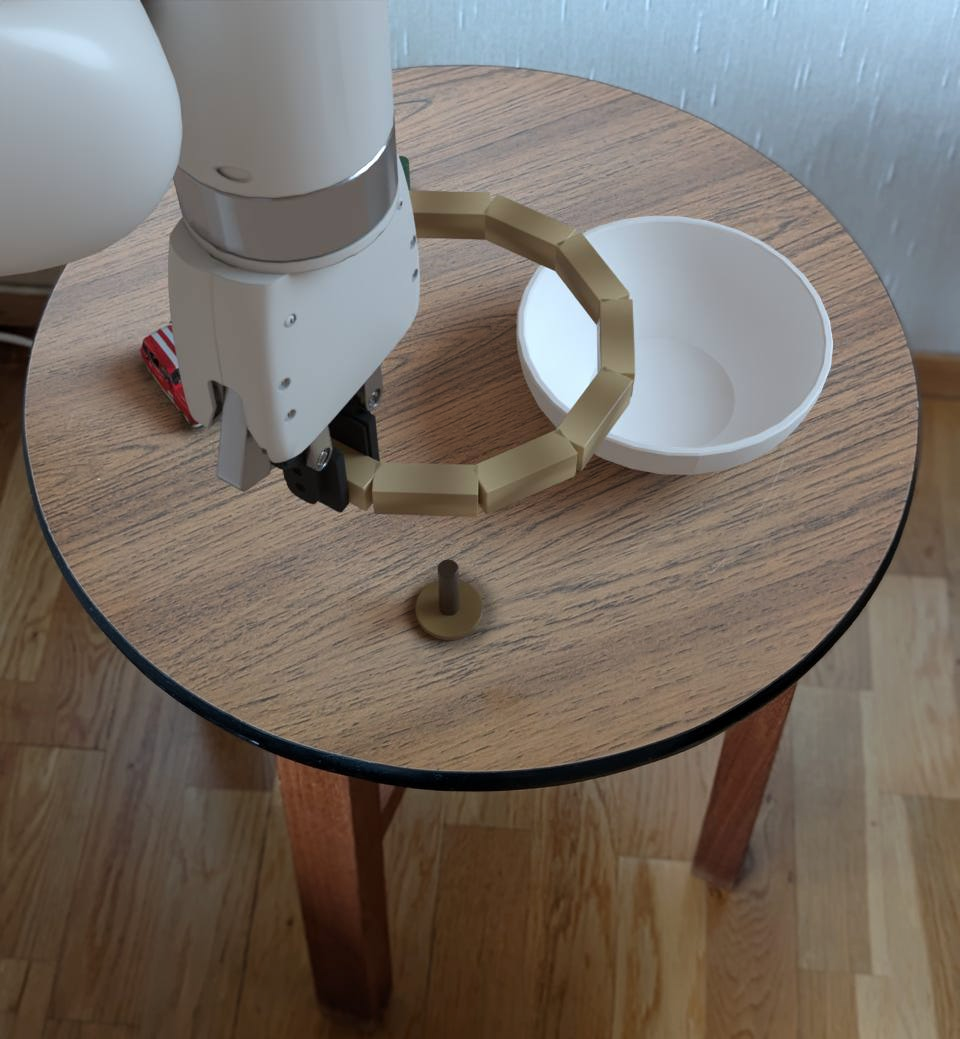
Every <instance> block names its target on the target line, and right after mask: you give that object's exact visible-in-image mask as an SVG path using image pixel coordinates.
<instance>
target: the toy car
mask: <svg viewBox="0 0 960 1039" xmlns="http://www.w3.org/2000/svg"><path fill="white" fill-rule="evenodd" d="M168 324H169V325H166V326H164V327H162V328H158V329H157V330H156V331H154V332H152V333H151V334H149V335H147V336H145V337H144V338H143V340H142V343H141V347H140V349H139V357H140V358H141V359H142V360H143V362H144V365H145V367H146V370H147V371H148V373H149V375H151V376H152V377H153V379H154V380H156V382H157V384H158V385H159V386H160V388H161V390H162V392H164V394H165V395H166V396H167V397H168V399H169V400H170V401H171V402H172V403H173V404H174V406H175V408H176V409H177V410H178V411H179V412H182V415H183V416H182V417H183V418H184V421H186V422H187V424H186V426H189V429H193V428H194V429H197V428H198V427H202V426H203V425H201V424H200V423H198V422H197V421H196V420H194V419H193V417H192V415H191V413H190V410H189V408H188V405H187V401H186V398H185V394H184V390H183V386H182V381H181V377H180V372H179V367H178V362H177V356H176V350H175V345H174V339H173V332H172V324H171V320H170V321H169V323H168Z"/></svg>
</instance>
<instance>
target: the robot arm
mask: <svg viewBox="0 0 960 1039" xmlns="http://www.w3.org/2000/svg"><path fill="white" fill-rule="evenodd" d="M388 1H389V0H0V277H6V276H15V275H21V274H29V273H30V274H31V273H34V272H38V271H43V270H47V269H52V268H55V267H60V266H65V265H68V264H72V263H74V262H78V261H80V260H82V259H85V258H88V257H90V256H93V255H95V254H98V253H100V252H102V251H104V250H106V249H107V248H109V247H111V246H112V245H114V244H116V243H118V242H119V241H121V240H122V239H124V238H126V237H127V236H129V235H131V234H132V233H133V232H134V231H135V230H136V229H137V228H138V227H139V226H140V225H142V224H143V222H145V221H146V220H147V219H148V218H149V217H150V215H152V214H153V212H154V211H155V210H156V208H157V207H158V205H159V204H160V203H161V201H162V200H163V198H164V197H165V196H166V194H167V192H168V191H169V188H170V185H171V182H172V181H173V184H174V188H175V192H176V196H177V200H178V205H179V210H180V212H181V216H182V217H181V218H180V219H179V220H178V222H177V223H176V224H175V226H174V228H173V229H172V230H171V232H170V234H169V240H168V257H167V281H168V282H167V285H168V286H167V287H168V288H167V289H168V302H169V304H168V305H169V314H170V321H171V323H170V325H172V332H173V339H174V345H175V350H176V356H177V362H178V367H179V372H180V373H179V374H180V377H181V381H182V386H183V390H184V394H185V398H186V401H187V405H188V408H189V410H190V413H191V415H192V417H193V419H194V420H196V421H197V422H198V423H200V424H201V425H202V426H203V427H204V428H206V429H208V430H210V429H211V428H212V427H213V426H214V425H215V424H216V423H217V422H218V420H220V418H221V420H220V430H219V431H220V432H219V442H218V452H217V453H218V454H217V462H216V463H217V464H216V477H217V479H219V480H221V481H222V482H224V483H226V484H228V485H229V486H231V487H234V488H235V489H237V490H239V491H240V492H245V493H246V492H247V491H249V490H250V489H251V488H253V487H255V486H256V485H257V484H258V483H260V482H261V481H263V480H264V479H265V478H266V477H268V476H270V475H271V472H272V470H273V469H274V468H277V469H279V470H282V474H283V475H282V476H283V478H284V481H285V483H286V486H287V488H288V490H289V491H290V492H291V494H293V495H294V496H295V497H297V498H298V499H300V500H302V501H304V502H305V503H308V504H310V505H316V504H317V503H320V504H322V505H324V506H326V507H328V508H330V509H331V510H333V511H334V512H337V513H341V514H342V513H343V512H345V509H346V508H348V506H349V505H350V503H349V493H348V486H347V475H346V467H345V460H344V455H343V453H342V452H341V451H340V450H339V449H337V448H336V447H334V446H332V443H331V438H333V439H335V440H337V441H339V442H341V443H343V444H345V445H346V446H348V447H350V448H352V449H354V450H356V451H358V452H360V453H362V454H364V455H365V456H369V457H371V458H372V459H374V460H376V461H378V462H381V460H380V459H381V458H380V449H379V448H380V447H379V439H378V438H379V437H378V429H377V419H376V415H374V414H373V413H372V411H373V410H375V409H376V408H377V406H378V405H379V403H380V401H381V399H382V396H383V392H384V388H383V386H384V385H383V372H382V371H383V369H382V368H383V367H382V365H383V362H384V361H385V360H386V359H387V357H388V356H389V355H390V354H391V352H393V350H394V349H395V348H396V347H397V345H398V344H399V342H400V341H401V340H402V339H403V338H404V336H405V335H406V333H407V332H408V331H409V329H410V327H411V326H412V324H413V322H414V321H415V318H416V316H417V314H418V310H419V305H420V292H421V291H420V290H421V278H420V277H421V274H420V273H421V272H420V271H421V270H420V258H419V256H420V254H419V247H418V246H419V245H418V238H417V237H416V228H415V222H414V216H413V210H412V204H411V199H410V195H409V190H408V186H407V182H406V178H405V174H404V171H403V167H402V164H401V161H400V158H399V156H400V155H399V153H398V150H397V134H396V121H395V104H394V102H395V101H394V86H393V70H392V67H393V66H392V53H391V35H390V19H389V2H388Z"/></svg>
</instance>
